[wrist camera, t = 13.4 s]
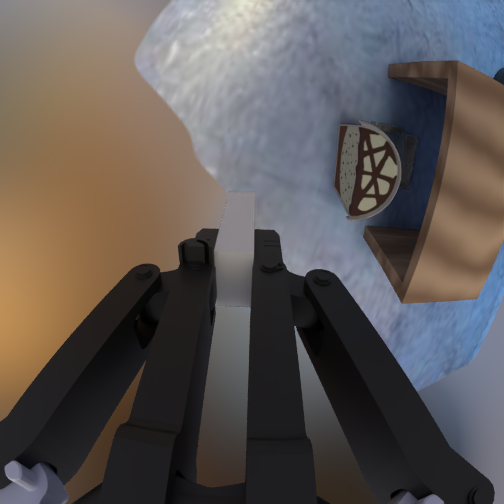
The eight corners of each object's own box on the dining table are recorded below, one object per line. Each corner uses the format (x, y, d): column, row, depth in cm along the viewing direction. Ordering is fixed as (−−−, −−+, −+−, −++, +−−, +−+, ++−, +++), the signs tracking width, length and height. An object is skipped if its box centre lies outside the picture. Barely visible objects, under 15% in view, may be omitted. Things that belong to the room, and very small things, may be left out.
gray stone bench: (371, 121, 35) (379, 124, 33) (409, 129, 35) (418, 132, 33) (362, 182, 40) (369, 189, 38) (399, 187, 40) (407, 194, 38)
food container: (368, 197, 42) (394, 227, 33) (331, 195, 42) (350, 224, 33) (379, 119, 35) (412, 130, 27) (339, 113, 35) (364, 121, 27)
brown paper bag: (388, 64, 30) (457, 60, 16) (461, 89, 31) (534, 105, 16) (363, 237, 45) (401, 303, 31) (429, 241, 45) (476, 299, 31)
